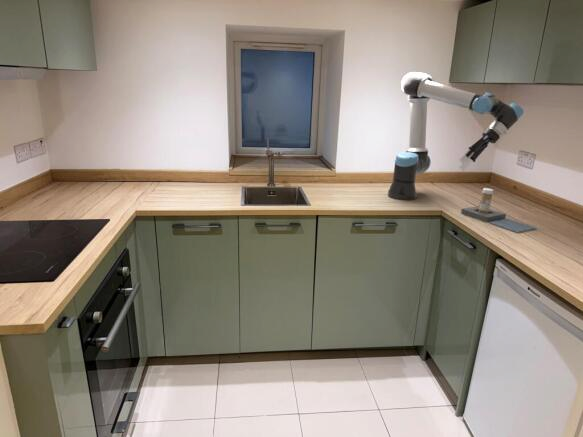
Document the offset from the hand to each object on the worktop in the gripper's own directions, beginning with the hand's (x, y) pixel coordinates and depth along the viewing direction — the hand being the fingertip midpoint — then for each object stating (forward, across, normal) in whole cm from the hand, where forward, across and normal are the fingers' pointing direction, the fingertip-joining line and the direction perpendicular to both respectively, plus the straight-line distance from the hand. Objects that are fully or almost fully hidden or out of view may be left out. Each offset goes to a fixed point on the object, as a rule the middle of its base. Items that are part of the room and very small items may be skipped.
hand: (461, 165), depth 200 cm
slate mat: (+8, -5, -36) cm, 37 cm away
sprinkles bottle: (+12, +3, -24) cm, 27 cm away
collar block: (+12, +3, -24) cm, 26 cm away
